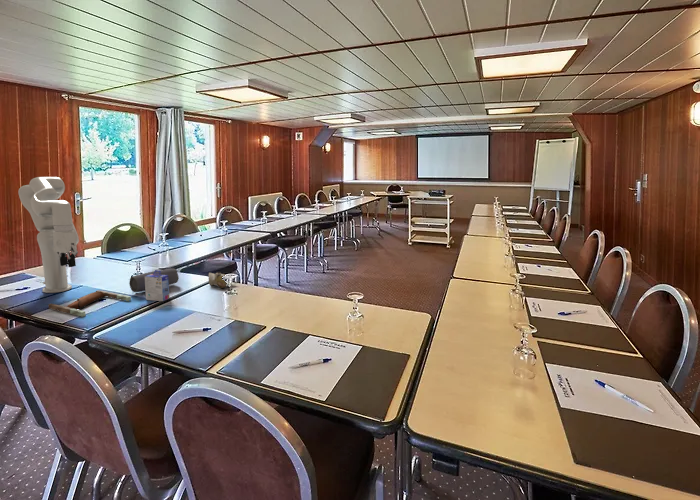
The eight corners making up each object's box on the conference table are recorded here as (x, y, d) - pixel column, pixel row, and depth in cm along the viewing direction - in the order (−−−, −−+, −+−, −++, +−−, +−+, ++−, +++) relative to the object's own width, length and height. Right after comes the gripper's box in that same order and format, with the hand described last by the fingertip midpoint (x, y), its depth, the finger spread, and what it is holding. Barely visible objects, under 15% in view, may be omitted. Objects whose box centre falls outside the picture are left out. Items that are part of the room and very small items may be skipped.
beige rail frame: (48, 308, 190) (48, 304, 189) (98, 293, 212) (98, 290, 212) (82, 316, 181) (81, 312, 181) (131, 300, 203) (130, 296, 203)
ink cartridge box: (170, 298, 208) (168, 270, 205) (163, 301, 202) (161, 273, 199) (153, 296, 210) (150, 269, 207) (145, 300, 204) (143, 271, 201)
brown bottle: (88, 296, 207) (94, 286, 206) (101, 304, 207) (106, 293, 206) (62, 309, 189) (68, 297, 188) (76, 317, 190) (82, 305, 189)
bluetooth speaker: (170, 283, 233) (169, 266, 231) (179, 286, 228) (178, 268, 226) (129, 292, 215) (127, 274, 213) (138, 296, 210) (137, 277, 207)
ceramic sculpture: (215, 267, 235) (237, 271, 230) (215, 282, 237) (237, 286, 232) (202, 272, 225) (225, 276, 220) (202, 287, 227) (225, 292, 222)
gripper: (43, 227, 194) (48, 265, 198) (67, 231, 188) (72, 269, 192) (60, 225, 201) (64, 262, 205) (83, 228, 195) (87, 266, 198)
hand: (68, 265), depth 198 cm, fingers open, 4 cm apart
